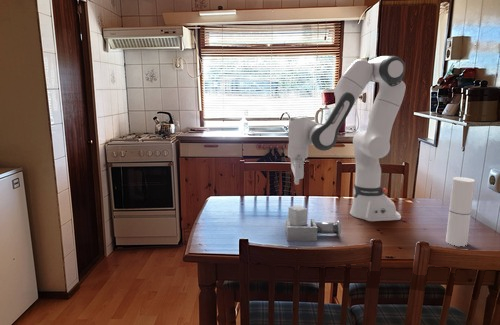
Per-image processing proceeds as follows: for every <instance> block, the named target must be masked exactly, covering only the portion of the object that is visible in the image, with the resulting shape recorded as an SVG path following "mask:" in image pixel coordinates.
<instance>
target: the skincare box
mask: <svg viewBox="0 0 500 325" xmlns="http://www.w3.org/2000/svg"><path fill="white" fill-rule="evenodd" d="M287 212H288V218H289V221H290V225H291V226H306V225H308V208H306V207H304V206H302V205H300V204H299V205H294V206H289V207H288V211H287Z"/></svg>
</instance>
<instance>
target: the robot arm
mask: <svg viewBox="0 0 500 325" xmlns="http://www.w3.org/2000/svg"><path fill="white" fill-rule="evenodd" d="M405 72H406V63H405V62H404V60H403V59H402V58H401V57H399V56H396V55H381V56H377V57H372V58H370V59H368V60H366V59H364V58H358V59H355V60H354V61H353V62H351V63H350V65H349V66H348V67H347V69H346V70H345V71H344V72H343V73H342V75H341V77H340V78H339V80H338V81H337V84H336V85H335V88H334V90H333V94H334V98H335V105H334V107H333V109H332V111H331V112H330V114H329V116H328V117H327V119H326V120H325V122H324V123H323V124H321V123H319V122H316V121H314V120H312V119H310V118H309V116H307V115H303V116H301V115H299V116H295V117H292V118H291V119H290V122H289V125H288V133H287V134H288V136H287V137H288V144H287V157H288V158H289V159H290V168H291V171H292V173H293V176H294V177H293V179H294V184H295V185H299V184H300V180H301V179H304V177H305V176H304V174H305V172H304V170H305V169H304V168H305V165H304V164H305V163H304V162H305V161H306V160H305V159H308V156H309V146H310V145H311V146H314V147H315V149H317V150H318V151H322V152H325V151H329V150H331V149H333V148H334V147H335V145H336V143H337V140H338V135H339V131H340V130H341V127H342V126H343V124H344V122H345V121H346V119H347V117H348V116H349V114H350V112H351V111H352V108H353V106H354V105H355V103H356V102H357V100H358V99H359V97H360V96H361V95H362V93H363V92H364V90H365V89H366V87H367V85H368V84H370V82H374V83H378V84H379V85H378V86H379V87H378V92H377V94H376V97H375V99H374V101H373V103H372V106H371V108H370V111H369V113H368V123H367V127H366V129H365V130H360V131H358V132H357V133H355V135H354V136H353V138H352V145H353V151H354V153H353V154H354V160H355V162H354V163H355V176H354V178H355V181H354V185H353V189H352V190H353V192H352V194H353V198H352V199H353V201H352V204H351V205H352V206H351V207H350V211H349V214H350V215H351V216H352V217H354V218H358V219H361V220H365V221H367V222H382V221H399V220H401V219H402V216H401V214H400V212H398V211H397V208H396V204H395V203H394V201H393V200H391V199H390V197H388V196H387V195H386V194H387V193H388V189H387V188H386V187H383V186H381V181H382V180H381V179H382V178H381V177H382V167H381V165H380V159H382V158H384V157H386V156H387V155H388V154H389V153H390V150H391V144H390V140H391V136H392V135H391V134H392V130H393V129H392V128H393V126H394V125H393V124H394V123H395V120H396V118H397V115H398V112H399V111H400V108H401V106H402V103H403V100H404V97H405V93H406V87H407V86H406V83H405V82H404V81H403V80H404V78H405Z"/></svg>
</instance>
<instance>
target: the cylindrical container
mask: <svg viewBox="0 0 500 325" xmlns="http://www.w3.org/2000/svg"><path fill="white" fill-rule="evenodd" d="M451 183H452V184H451V191H450V198H449V199H450V200H449V206H448V207H449V209H448V218H447V224H446V225H447V227H446V235H445V236H446V237H445V242H446V244H448V243H449V244H448V245H450V244H451V246H454V245H455V246H454V247H460V246H463V247H466V246H467V245H468V240H469V230H470V225H471V224H470V223H471V216H472V207H473V199H474V191H475V184H476V180H475V179H474V178H470V177H464V176H454V177H452V182H451ZM465 245H466V246H465Z"/></svg>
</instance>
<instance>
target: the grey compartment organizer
mask: <svg viewBox="0 0 500 325" xmlns="http://www.w3.org/2000/svg"><path fill="white" fill-rule="evenodd" d="M318 234H320V235H322V234H325V235H326V234H329V235H336V237H341V234H342V224H341V221H340V220H338V219H337V220H335V222H321V221H320V222H316V221H315V218H310V226H306V225H302V226H293V225H291V224H290V221H289V218H287V217H286V218H285V236H286V241H288V242H317V241H318Z"/></svg>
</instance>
